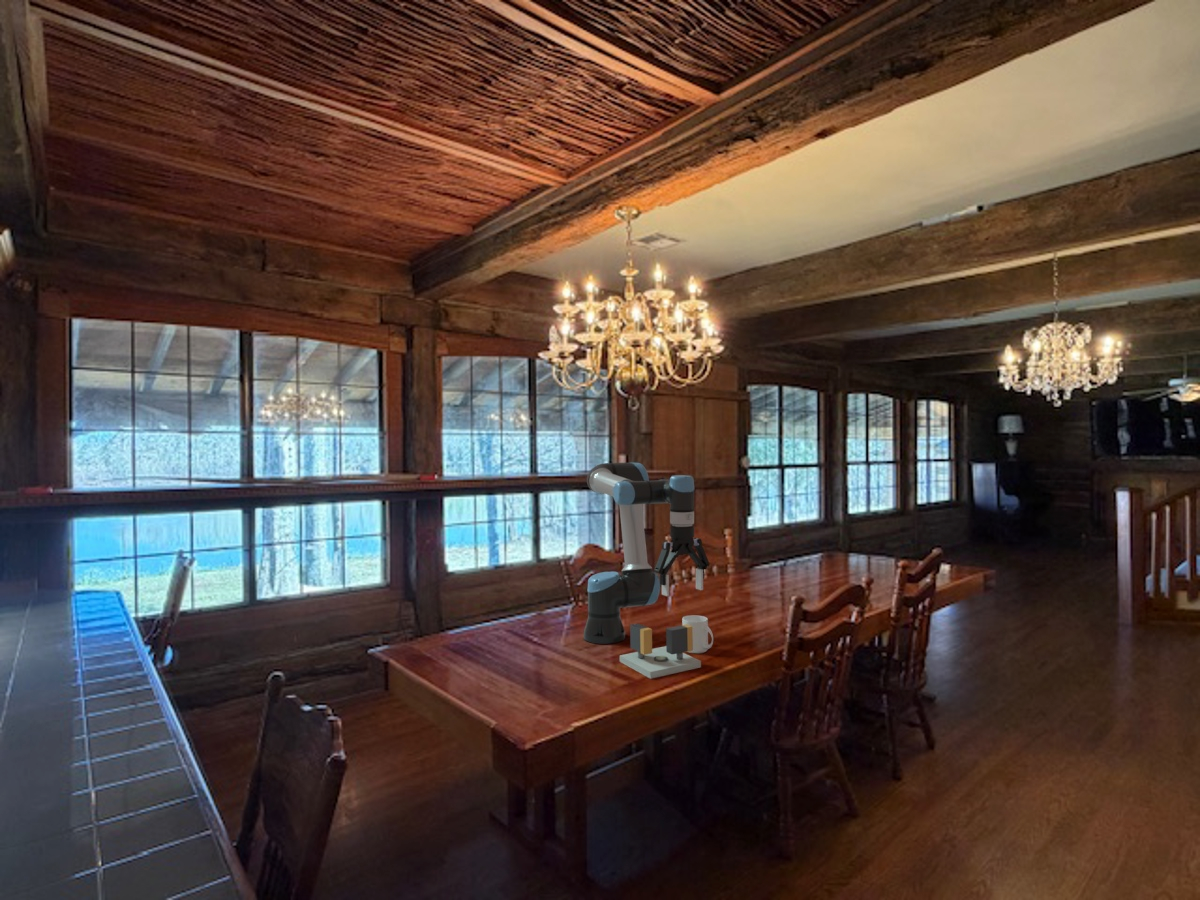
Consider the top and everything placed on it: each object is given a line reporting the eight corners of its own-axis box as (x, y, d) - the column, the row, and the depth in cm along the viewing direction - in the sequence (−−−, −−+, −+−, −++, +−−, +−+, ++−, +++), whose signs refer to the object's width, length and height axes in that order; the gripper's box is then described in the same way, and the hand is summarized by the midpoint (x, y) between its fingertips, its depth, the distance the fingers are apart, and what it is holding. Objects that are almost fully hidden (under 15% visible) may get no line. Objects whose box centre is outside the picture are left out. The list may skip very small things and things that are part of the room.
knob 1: (630, 654, 206) (630, 624, 206) (638, 653, 208) (638, 623, 207) (644, 662, 199) (643, 630, 199) (652, 660, 200) (651, 629, 200)
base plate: (619, 661, 206) (619, 653, 206) (667, 651, 216) (667, 643, 216) (650, 678, 191) (650, 669, 191) (700, 667, 200) (700, 658, 200)
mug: (704, 658, 208) (704, 625, 208) (677, 649, 218) (677, 618, 218) (721, 652, 214) (720, 620, 214) (694, 644, 223) (693, 613, 223)
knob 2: (672, 661, 199) (671, 630, 199) (666, 659, 201) (666, 628, 201) (692, 657, 203) (692, 626, 203) (687, 654, 205) (686, 624, 205)
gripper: (657, 529, 189) (657, 600, 190) (720, 523, 202) (720, 589, 203) (642, 526, 196) (643, 595, 196) (704, 520, 209) (705, 584, 209)
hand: (682, 592), depth 200 cm, fingers open, 13 cm apart
